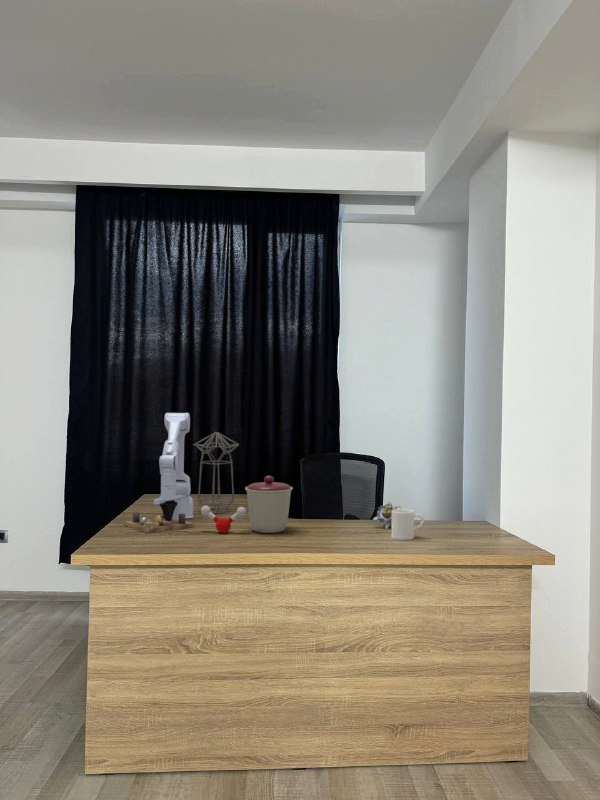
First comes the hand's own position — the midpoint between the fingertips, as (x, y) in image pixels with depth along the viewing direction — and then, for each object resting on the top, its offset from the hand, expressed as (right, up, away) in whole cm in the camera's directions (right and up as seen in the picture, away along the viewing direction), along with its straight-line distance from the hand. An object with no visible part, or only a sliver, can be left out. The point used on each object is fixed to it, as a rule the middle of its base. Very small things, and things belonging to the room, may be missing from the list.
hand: (168, 520), depth 283 cm
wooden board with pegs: (-4, -3, +4) cm, 7 cm away
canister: (+39, -4, -4) cm, 39 cm away
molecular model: (+22, -3, -8) cm, 24 cm away
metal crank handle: (-6, -1, -1) cm, 6 cm away
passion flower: (+86, -4, +6) cm, 87 cm away
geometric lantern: (+14, -3, +39) cm, 41 cm away
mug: (+90, -4, -15) cm, 92 cm away
